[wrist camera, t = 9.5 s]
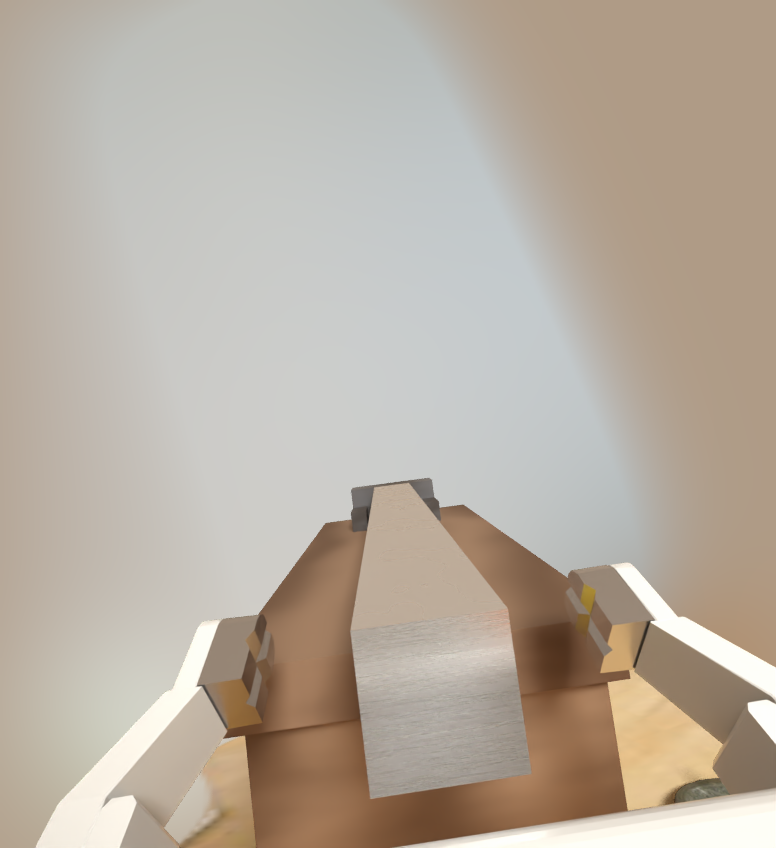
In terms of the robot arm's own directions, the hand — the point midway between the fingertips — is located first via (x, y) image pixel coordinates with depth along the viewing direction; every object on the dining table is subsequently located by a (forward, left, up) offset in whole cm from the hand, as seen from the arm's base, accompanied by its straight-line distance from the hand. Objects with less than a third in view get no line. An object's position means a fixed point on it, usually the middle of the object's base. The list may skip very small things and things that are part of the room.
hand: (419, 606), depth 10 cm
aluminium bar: (0, +10, -2) cm, 10 cm away
